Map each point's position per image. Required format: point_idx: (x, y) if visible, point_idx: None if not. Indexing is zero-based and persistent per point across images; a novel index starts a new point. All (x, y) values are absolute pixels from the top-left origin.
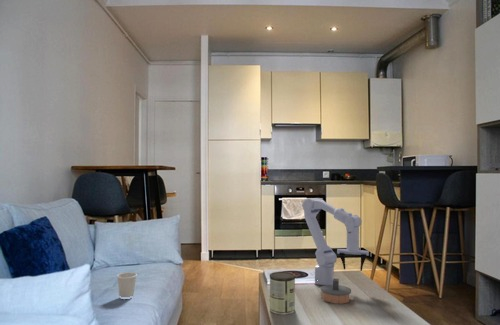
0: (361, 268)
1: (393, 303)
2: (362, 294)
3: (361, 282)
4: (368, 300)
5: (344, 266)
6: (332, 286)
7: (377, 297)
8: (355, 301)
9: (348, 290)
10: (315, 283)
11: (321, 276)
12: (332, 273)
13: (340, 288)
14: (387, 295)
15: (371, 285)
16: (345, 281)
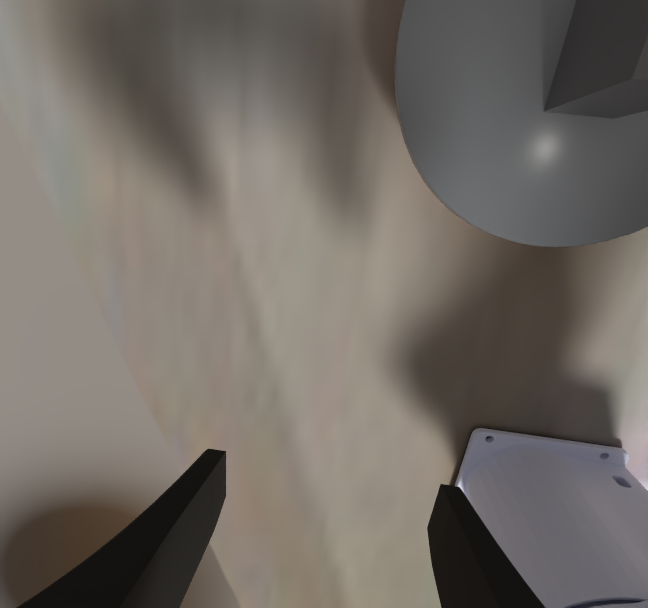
0: (195, 470)
1: (32, 74)
2: (273, 270)
3: (264, 521)
4: (232, 109)
5: (468, 522)
6: (614, 159)
7: (161, 216)
8: (351, 40)
9: (438, 10)
10: (625, 452)
11: (612, 508)
12: (517, 538)
13: (529, 86)
14: (94, 282)
15: None
16: (367, 530)
